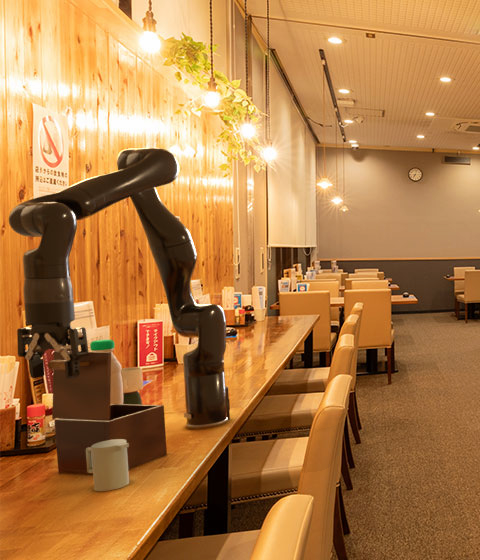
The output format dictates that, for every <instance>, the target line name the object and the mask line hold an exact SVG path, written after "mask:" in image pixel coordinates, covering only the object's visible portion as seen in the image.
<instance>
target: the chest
mask: <svg viewBox="0 0 480 560" xmlns="http://www.w3.org/2000/svg"><path fill="white" fill-rule="evenodd" d="M165 418H166V417H165V405H163V404H161V405H160V404H142V405H136V404H111V405H110V419H109V420H93V419H65V418H55V419H54V431H55V433H54V434H55V444H56V445H55V446H56V458H57V459H56V460H57V472H58V474H75V475H77V474H78V475H93V473H88V472H87V461H86V448H88V447H91V446H92V445H93V444H96V443H99V442H102V441H107V440H114V439H125V440H126V441H127V443H129V447H127V456H128V470H130V469H133V468H136V467H138V466H140V465H143V464H145V463H148V462H150V461H153V460H156V459H160V458H161V457H163V456H166V455H168V452H167V437H166V436H167V435H166V420H165Z"/></svg>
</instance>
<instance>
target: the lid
mask: <svg viewBox="0 0 480 560" xmlns="http://www.w3.org/2000/svg"><path fill="white" fill-rule="evenodd" d="M68 352H69V354H72V353H71V352H70V351H68ZM88 352H89V354H88V355H87V356H84V357H81V358H80V359H79V364H80V367H79V368H80V374H79V377H76V378H72V379H67V378H66V374H65V361H66V360H65V359H64V357H63V356H62V355H61V353H58V352H56V350H55V351H53V359H51V360H49V362H48V363H47V366H48V369H49V370H52V412H51V413H52V415H51V416H52V417H51V418H52V419H59V418H65V419H93V420H109V419H110V391H111V352H92V351H88Z"/></svg>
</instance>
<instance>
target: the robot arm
mask: <svg viewBox="0 0 480 560" xmlns="http://www.w3.org/2000/svg"><path fill="white" fill-rule="evenodd" d="M116 167H117V170H116V171H111V172H109V173H104V174H100V175H97V176H93V177H90V178H89V177H88V178H86V179H84V180H81V181H79V182H76V183H74V184H72V185H70V186H68V187H65V188H64V189H62V190H60V191H57V192H54V193H49V194H45V195H42V196H38V197H34V198H31V199H28V200H25V201H23V202H21V203H19V204H17V205H16V206H14V208H12V210H11V211H10V213H9V215H8V224H9V226H10V229H12V231H14V232H15V233H16V234H18V235H20V236H24V237H27V238H28V237H29V238H40V242H39V245H38V247H36V248H33V249H29V250H26V251H24V253H23V256H22V266H23V278H24V280H23V303H24V304H23V305H24V317H25V323H26V324H27V325H31V326H27V327H20V328H17V331H16V335H17V337H16V338H17V339H16V340H17V341H16V342H17V356H18V357H19V358H25V360H27V361H28V370H29V371H28V372H29V376H30V378H31V379H37V378H43V377H44V376H45V364H44V358H43V356H44V355H45V353H46V352H47V351H48V350H55V351H56V352H58V353H61V355H62V356H63V357H64V359H65V360H66V361H65V374H66V378H67V379H72V378H76V377H79V374H80V368H79V367H80V364H79V359H80V358H81V357H84V356H87V355H88V354H89V352H90V351H89V345H88V344H89V343H88V337H87V330H86V328H85V327H84V326H83V327H76V328H74V327H73V328H72V325H71V323H72V322H74V321H75V319H76V316H75V315H76V314H75V301H74V300H75V299H74V288H73V284H72V280H71V279H72V278H71V269H70V267H71V265H70V255H71V252H72V250H73V244H74V241H75V237H76V234H77V229H78V221H81V220H85V219H88V218H91V217H93V216H94V215H96V214H98V213H100V212H101V211H104V210H105V209H108V208H109V207H111V206H113V205H116V204H117V203H119V202H121V201H124V200H125V199H129V198H130V200H131V203H132V204H133V206H134V209H135V211H136V213H137V215H138V218H139V222H140V223H141V226H142V229H143V231H144V234H145V237H146V241H147V243H148V246H149V250H150V252H151V255H152V258H153V260H154V263H155V265H156V268H157V271H158V273H159V277H160V280H161V283H162V287H163V289H164V293H165V297H166V301H167V306H168V310H169V315H170V319H171V324H172V326H173V328H174V330H175V332H176V333H177V334H178V335H179V336H181V337H183V338H189V339H192V338H193V339H197V346H196V347H195V348H194V349H192V350H189V351H187V352H185V353H184V354H183V356H182V362H183V363H182V364H183V366H182V367H183V382H184V383H183V384H184V397H185V398H184V399H185V400H184V401H185V412H184V413H183V417H184V418H185V419H186V428H187V429H190V430H191V429H192V430H202V429H208V428H214V427H218V426H222V425H224V424H226V423H228V421H230V420H231V414H230V410H231V404H230V403H231V402H230V397H229V395H230V394H229V387H228V386H226V375H225V373H226V372H225V353H226V349H227V317H226V313H225V311H224V308H223V307H221V305H219V304H216V303H196V301H195V298H194V296H193V292H192V286H191V282H192V277H193V274H194V271H195V269H196V265H197V261H198V255H197V250H196V247H195V243H194V241H193V238H192V235H191V233H190V231H189V229H188V228H187V227H186V225H184V223H183V222H182V221H181V220H180V219H179V218H178V217H177V216H176V215H175V214H173V213H172V212H171V211H170V209H168V207H167V206H166V205H165V204H164V203H163V201H162V200H161V197H160V196H159V193H158V191H157V189H156V188H159V187H162V186H166V185H169V184H172V183H173V182H174V181H176V179H177V178H178V175H179V172H180V164H179V161H178V159H177V157H176V156H175V155H174V154H173V153H172V152H171V151H169V150H167V149H164V148H160V147H144V148H143V147H142V148H139V147H138V148H128V149H127V148H126V149H124V150H121V151H120V152H119V153H118V156H117V159H116ZM26 346H27V349H26ZM79 346H80V350H79ZM68 351H70V352H71V353H72V354H69V352H68Z"/></svg>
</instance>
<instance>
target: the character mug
mask: <svg viewBox="0 0 480 560" xmlns="http://www.w3.org/2000/svg"><path fill="white" fill-rule="evenodd" d="M143 374H144V373H143V368H142V367H139V366H136V367H135V366H134V367H133V366H132V367H131V366H130V367H123V368H122V369H121V376H122V383H123V404H136V405H143V400H142V395H141V393H140V392H139V391H141V390H143V389H144V376H143Z"/></svg>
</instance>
